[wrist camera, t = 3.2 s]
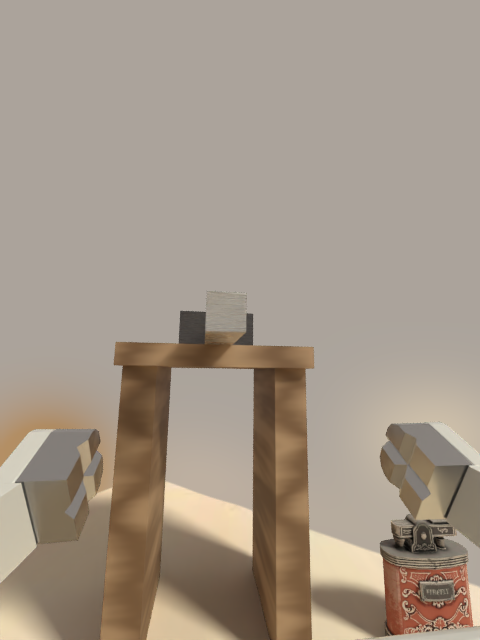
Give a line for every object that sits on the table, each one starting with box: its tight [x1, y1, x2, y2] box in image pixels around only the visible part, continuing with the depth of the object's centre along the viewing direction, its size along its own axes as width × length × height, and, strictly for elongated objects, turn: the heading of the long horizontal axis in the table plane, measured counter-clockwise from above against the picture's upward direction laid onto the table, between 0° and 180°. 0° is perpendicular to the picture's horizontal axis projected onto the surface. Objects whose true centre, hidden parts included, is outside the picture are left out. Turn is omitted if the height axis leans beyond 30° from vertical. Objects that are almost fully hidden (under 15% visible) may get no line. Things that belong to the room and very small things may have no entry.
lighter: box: [380, 514, 473, 636], centre depth 27 cm, size 8×3×10 cm, turn 95°
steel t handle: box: [179, 291, 253, 345], centre depth 27 cm, size 8×18×4 cm, turn 7°
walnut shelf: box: [100, 342, 314, 640], centre depth 31 cm, size 18×14×26 cm
